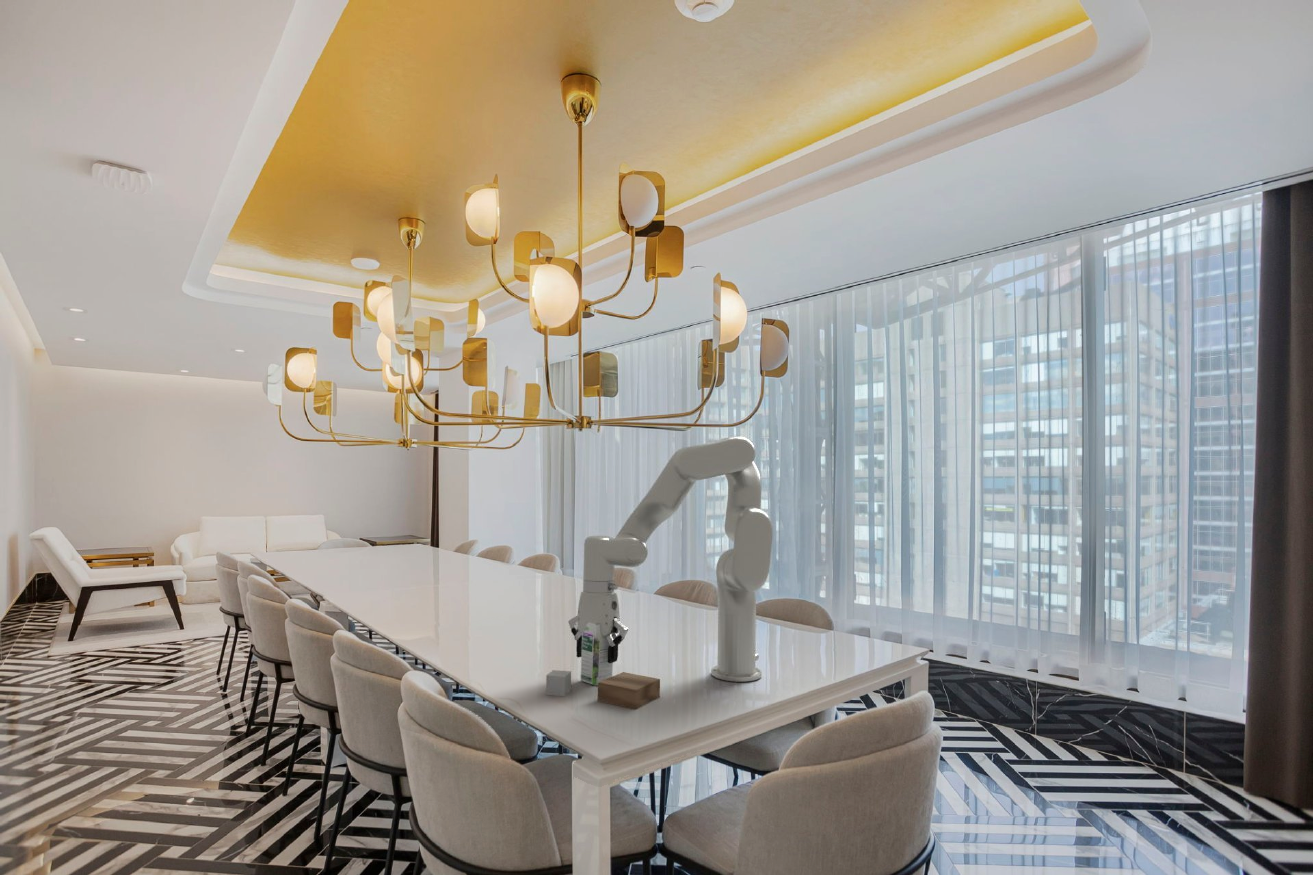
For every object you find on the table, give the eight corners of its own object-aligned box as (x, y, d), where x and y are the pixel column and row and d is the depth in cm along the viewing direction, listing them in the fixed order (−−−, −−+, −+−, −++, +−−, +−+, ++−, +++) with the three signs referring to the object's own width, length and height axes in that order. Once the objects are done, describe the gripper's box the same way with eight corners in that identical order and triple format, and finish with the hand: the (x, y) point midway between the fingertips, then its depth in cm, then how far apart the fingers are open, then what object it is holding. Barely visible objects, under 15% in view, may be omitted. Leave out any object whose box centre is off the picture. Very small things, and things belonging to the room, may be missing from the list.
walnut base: (622, 689, 161) (623, 672, 161) (659, 697, 156) (659, 679, 156) (597, 701, 152) (597, 682, 153) (635, 709, 147) (636, 690, 147)
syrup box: (579, 681, 167) (581, 620, 168) (598, 676, 171) (599, 617, 172) (594, 686, 163) (596, 624, 164) (613, 681, 167) (614, 620, 168)
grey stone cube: (552, 689, 161) (553, 670, 161) (570, 690, 160) (571, 671, 160) (545, 695, 156) (546, 675, 157) (564, 696, 155) (564, 676, 156)
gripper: (636, 588, 167) (635, 661, 166) (579, 582, 176) (577, 651, 175) (619, 592, 161) (617, 668, 160) (560, 585, 170) (558, 657, 169)
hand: (596, 659), depth 168 cm, fingers open, 8 cm apart
